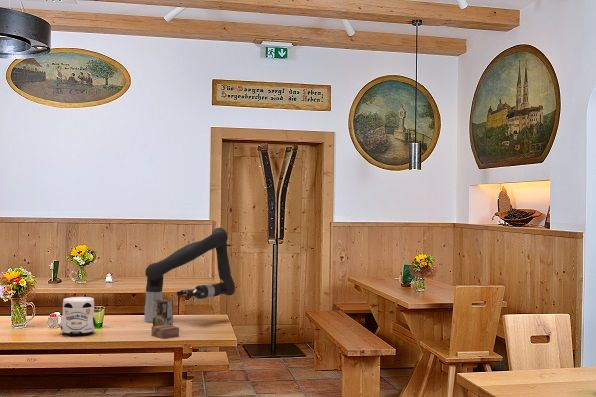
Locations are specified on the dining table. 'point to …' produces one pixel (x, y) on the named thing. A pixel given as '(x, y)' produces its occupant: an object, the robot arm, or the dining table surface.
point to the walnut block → (165, 331)
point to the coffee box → (162, 312)
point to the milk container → (78, 316)
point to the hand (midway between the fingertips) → (181, 294)
